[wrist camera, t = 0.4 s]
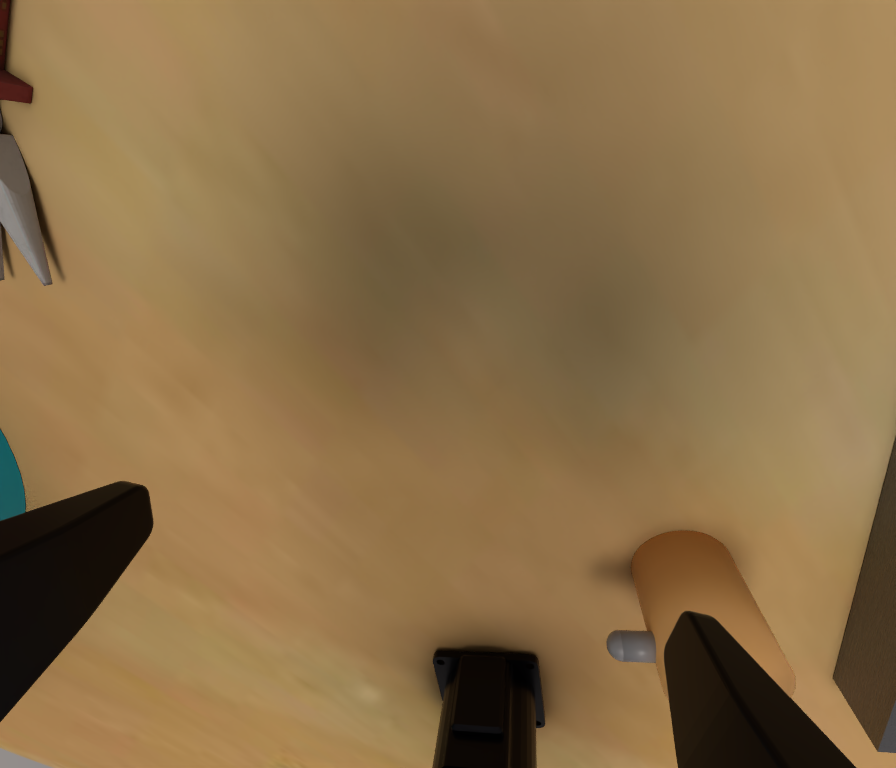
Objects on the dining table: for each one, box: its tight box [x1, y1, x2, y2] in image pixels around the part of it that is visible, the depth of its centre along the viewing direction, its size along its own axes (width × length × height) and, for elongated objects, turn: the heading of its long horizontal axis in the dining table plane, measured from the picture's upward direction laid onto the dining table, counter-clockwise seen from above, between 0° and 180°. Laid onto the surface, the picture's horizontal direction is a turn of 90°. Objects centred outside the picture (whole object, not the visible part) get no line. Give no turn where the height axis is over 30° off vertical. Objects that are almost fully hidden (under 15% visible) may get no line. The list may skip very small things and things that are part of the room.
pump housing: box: [607, 531, 796, 700], centre depth 21 cm, size 5×7×7 cm
